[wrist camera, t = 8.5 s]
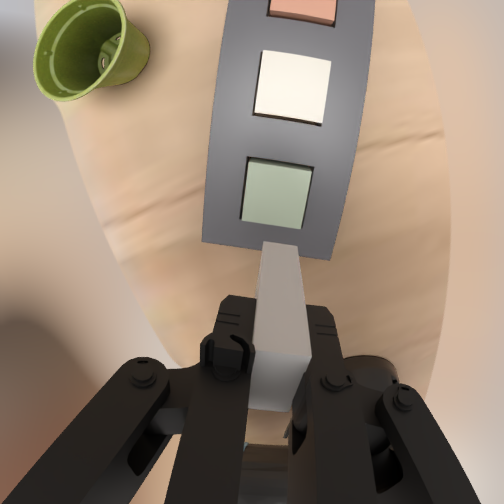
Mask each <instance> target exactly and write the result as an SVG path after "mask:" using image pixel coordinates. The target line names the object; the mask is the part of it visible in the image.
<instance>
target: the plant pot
mask: <svg viewBox="0 0 504 504" xmlns="http://www.w3.org/2000/svg"><path fill="white" fill-rule="evenodd" d="M119 36H121V38H120V39H118V40H116V38H117V37H119ZM149 54H150V47H149V43H148V40H147V38H146V37H145V36H144V35H143V34H142V33H141V32H140V31H139V30H138V29H137V28H136V27H135V26H134V25H133V24H132V23H131V22H130V21H129V20H128V19H127V18H126V14H125V11H124V8H123V6H122V5H121V3H120V2H119V1H118V0H70V1H69V2H67V3H66V4H65V5H63V6H62V7H61V8H60V9H59V10H58V11H57V12H56V13H55V14H54V15H53V16H52V18H51V19H50V20H49V22H48V23H47V24H46V26H45V27H44V29H43V31H42V33H41V35H40V37H39V39H38V42H37V45H36V48H35V52H34V59H33V71H34V77H35V81H36V83H37V85H38V88H39V89H40V91H41V92H42V93H43V94H44V95H45V96H46V97H48V98H50V99H52V100H55V101H60V102H65V101H71V100H75V99H78V98H80V97H82V96H84V95H86V94H88V93H89V92H91V91H92V90H93V89H96V88H101V87H106V86H112V85H120V84H124V83H127V82H129V81H131V80H133V79H134V78H136V77H137V76H138V74H139V73H140V72H141V70H142V69H143V68H144V66H145V65H146V64H147V61H148V59H149ZM102 58H105V59H104V69H103V67H102Z"/></svg>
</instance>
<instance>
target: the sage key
mask: <svg viewBox="0 0 504 504" xmlns="http://www.w3.org/2000/svg"><path fill="white" fill-rule="evenodd" d="M311 173H312V171H311V170H310V168H309V167H308V166H306V165H300V164H295V163H289V162H282V161H276V160H269V159H262V158H255V157H251V159H250V161H249V165H248V173H247V181H246V189H245V197H244V205H243V213H242V221H248V222H255V223H262V224H269V225H275V226H282V227H288V228H295V229H301V225H302V220H303V215H304V210H305V205H306V200H307V195H308V189H309V184H310V179H311Z"/></svg>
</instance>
